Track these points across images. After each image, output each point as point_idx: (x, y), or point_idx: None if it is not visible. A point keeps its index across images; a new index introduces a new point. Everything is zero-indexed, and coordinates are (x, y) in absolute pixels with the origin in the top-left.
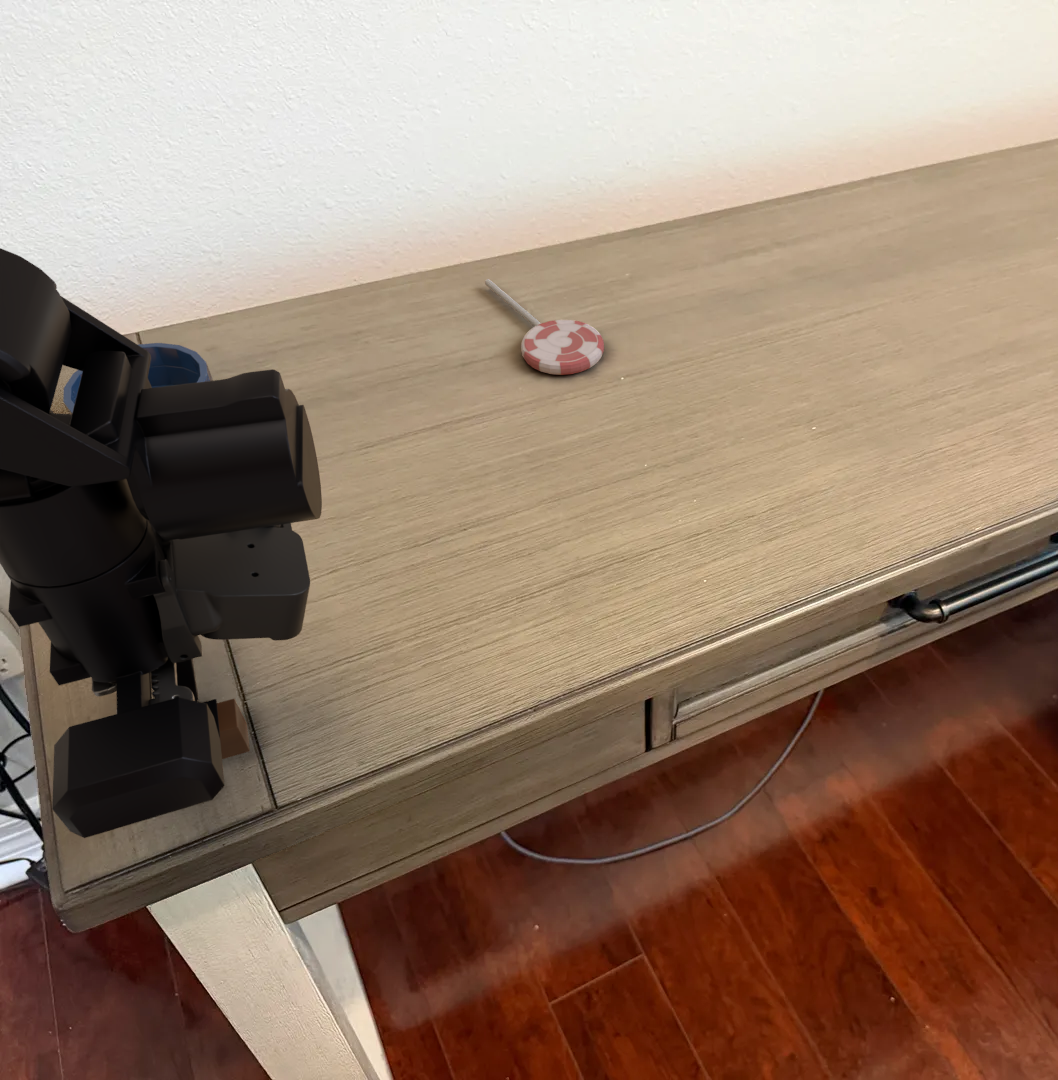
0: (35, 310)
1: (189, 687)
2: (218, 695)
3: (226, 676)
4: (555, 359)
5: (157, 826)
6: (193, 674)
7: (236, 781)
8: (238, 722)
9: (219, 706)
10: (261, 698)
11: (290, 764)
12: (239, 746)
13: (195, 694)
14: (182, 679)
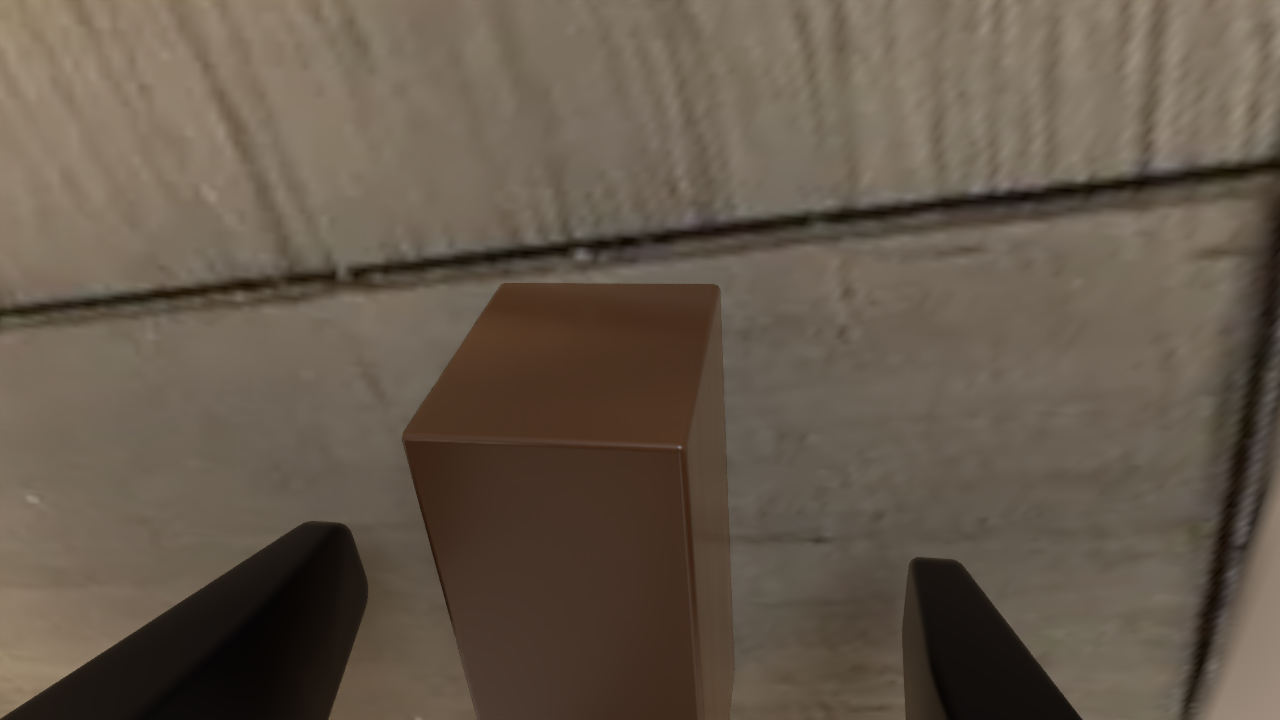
0: None
1: (277, 628)
2: (289, 394)
3: (164, 348)
4: None
5: None
6: (193, 671)
7: (918, 369)
8: (615, 416)
9: (459, 523)
10: (328, 187)
11: (940, 44)
12: (714, 359)
13: (312, 563)
14: (231, 707)
